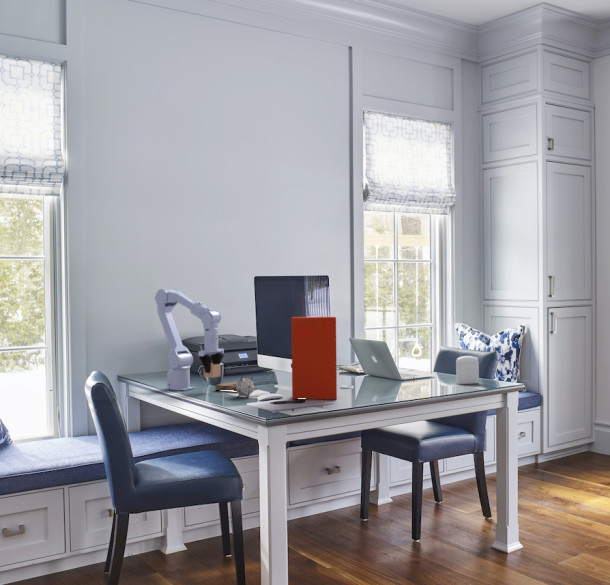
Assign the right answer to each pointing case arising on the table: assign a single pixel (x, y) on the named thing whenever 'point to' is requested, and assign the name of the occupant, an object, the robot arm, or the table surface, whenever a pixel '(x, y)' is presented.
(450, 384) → the table surface
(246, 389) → the game die
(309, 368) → the file binder
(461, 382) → the grey smart speaker
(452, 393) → the table surface
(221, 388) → the plinth
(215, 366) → the cube
